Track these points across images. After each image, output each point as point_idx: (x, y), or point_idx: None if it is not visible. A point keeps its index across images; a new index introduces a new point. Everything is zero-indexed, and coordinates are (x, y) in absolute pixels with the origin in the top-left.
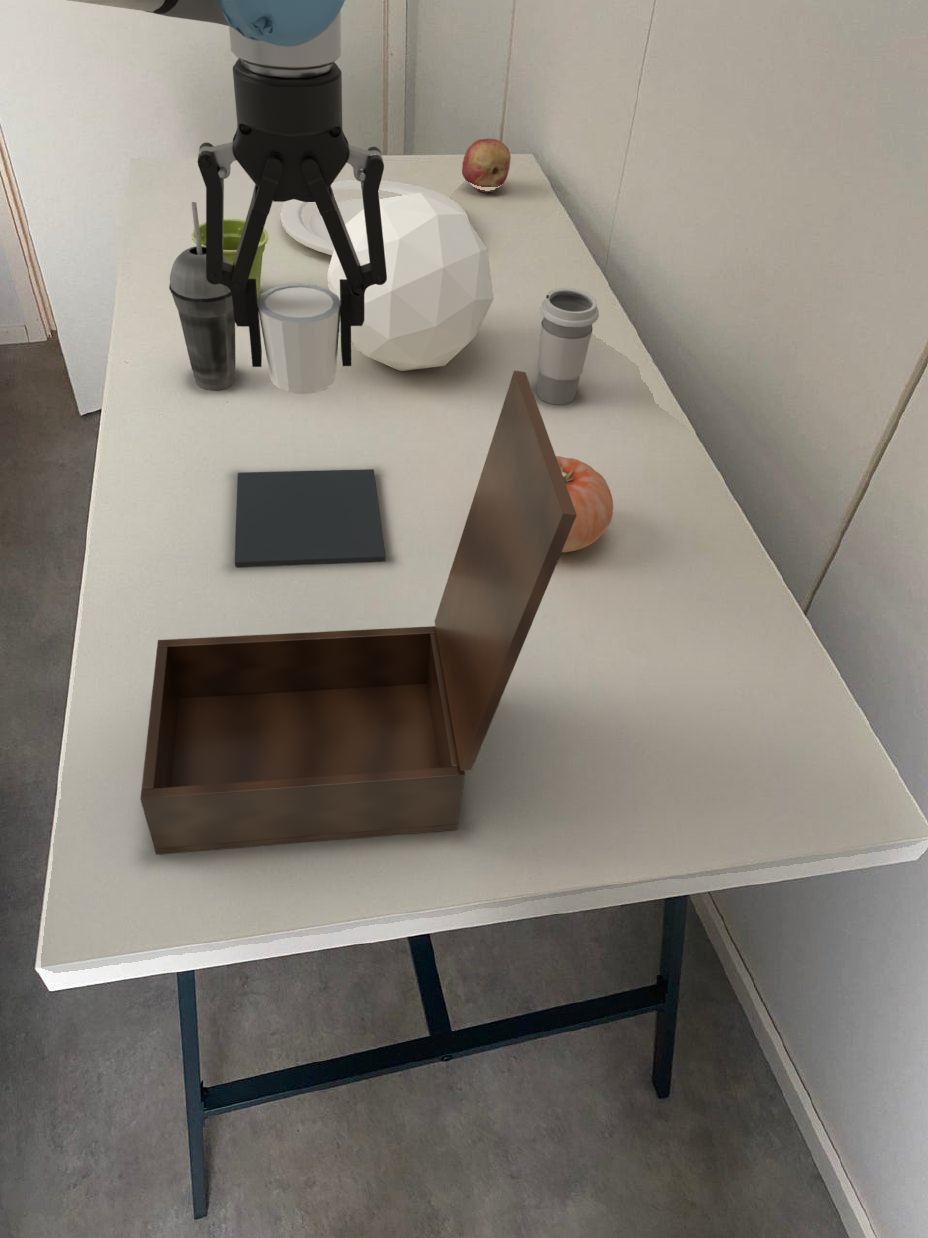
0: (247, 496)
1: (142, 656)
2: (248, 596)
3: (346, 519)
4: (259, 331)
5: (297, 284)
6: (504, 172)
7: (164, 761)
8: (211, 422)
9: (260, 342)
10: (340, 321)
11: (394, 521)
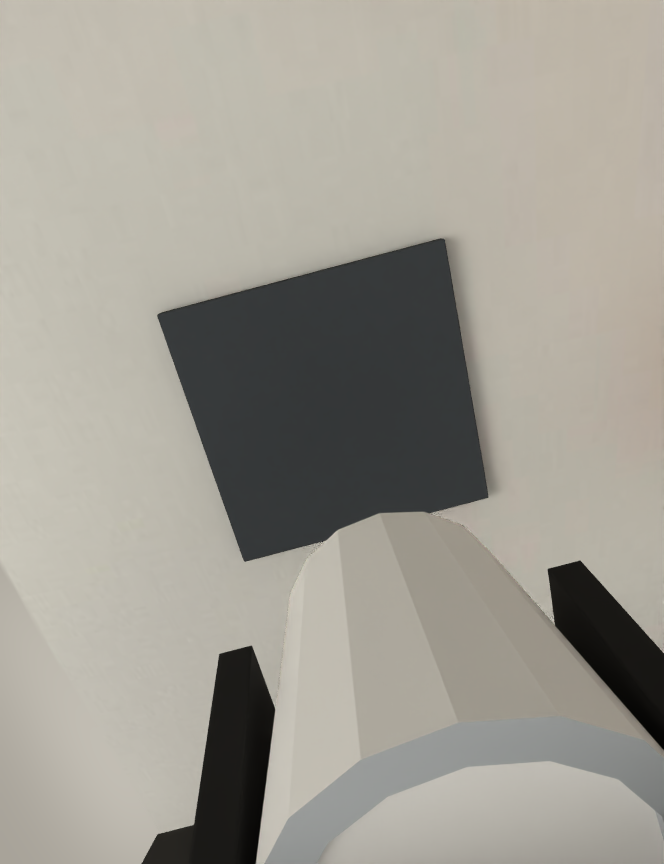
0: (205, 390)
1: (182, 729)
2: (285, 608)
3: (410, 417)
4: (264, 784)
5: (444, 748)
6: None
7: None
8: (4, 93)
9: (263, 729)
10: (614, 654)
11: (494, 387)
